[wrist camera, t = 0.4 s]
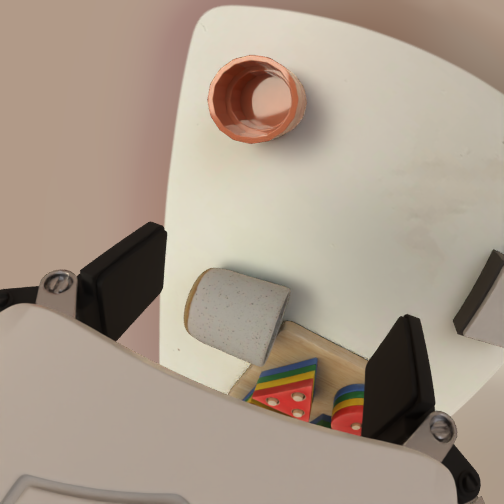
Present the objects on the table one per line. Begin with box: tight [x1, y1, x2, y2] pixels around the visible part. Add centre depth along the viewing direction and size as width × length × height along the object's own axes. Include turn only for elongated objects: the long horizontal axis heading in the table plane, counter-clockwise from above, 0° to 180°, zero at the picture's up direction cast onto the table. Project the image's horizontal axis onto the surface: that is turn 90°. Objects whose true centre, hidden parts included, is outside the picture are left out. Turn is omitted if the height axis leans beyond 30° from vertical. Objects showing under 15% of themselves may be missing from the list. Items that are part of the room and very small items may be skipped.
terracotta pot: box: [207, 55, 307, 144], centre depth 19 cm, size 6×6×5 cm
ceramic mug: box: [184, 268, 290, 367], centre depth 28 cm, size 11×8×8 cm
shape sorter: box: [228, 321, 368, 436], centre depth 32 cm, size 18×17×6 cm
